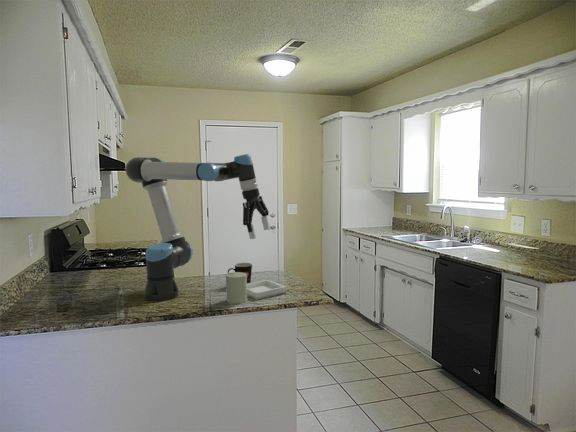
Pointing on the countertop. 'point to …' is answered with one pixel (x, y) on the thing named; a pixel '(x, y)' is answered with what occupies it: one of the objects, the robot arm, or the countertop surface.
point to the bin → (264, 289)
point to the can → (236, 287)
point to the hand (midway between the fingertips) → (260, 234)
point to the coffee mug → (244, 269)
